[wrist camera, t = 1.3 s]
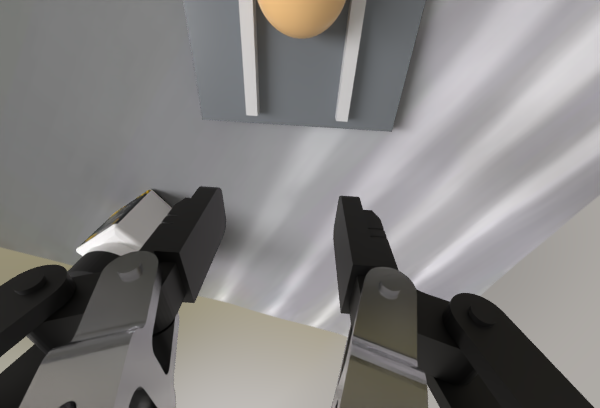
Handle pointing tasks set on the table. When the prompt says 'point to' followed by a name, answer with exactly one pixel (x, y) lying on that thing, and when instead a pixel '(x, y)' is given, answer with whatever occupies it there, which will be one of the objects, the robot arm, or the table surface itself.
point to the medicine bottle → (121, 233)
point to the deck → (302, 64)
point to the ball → (301, 15)
